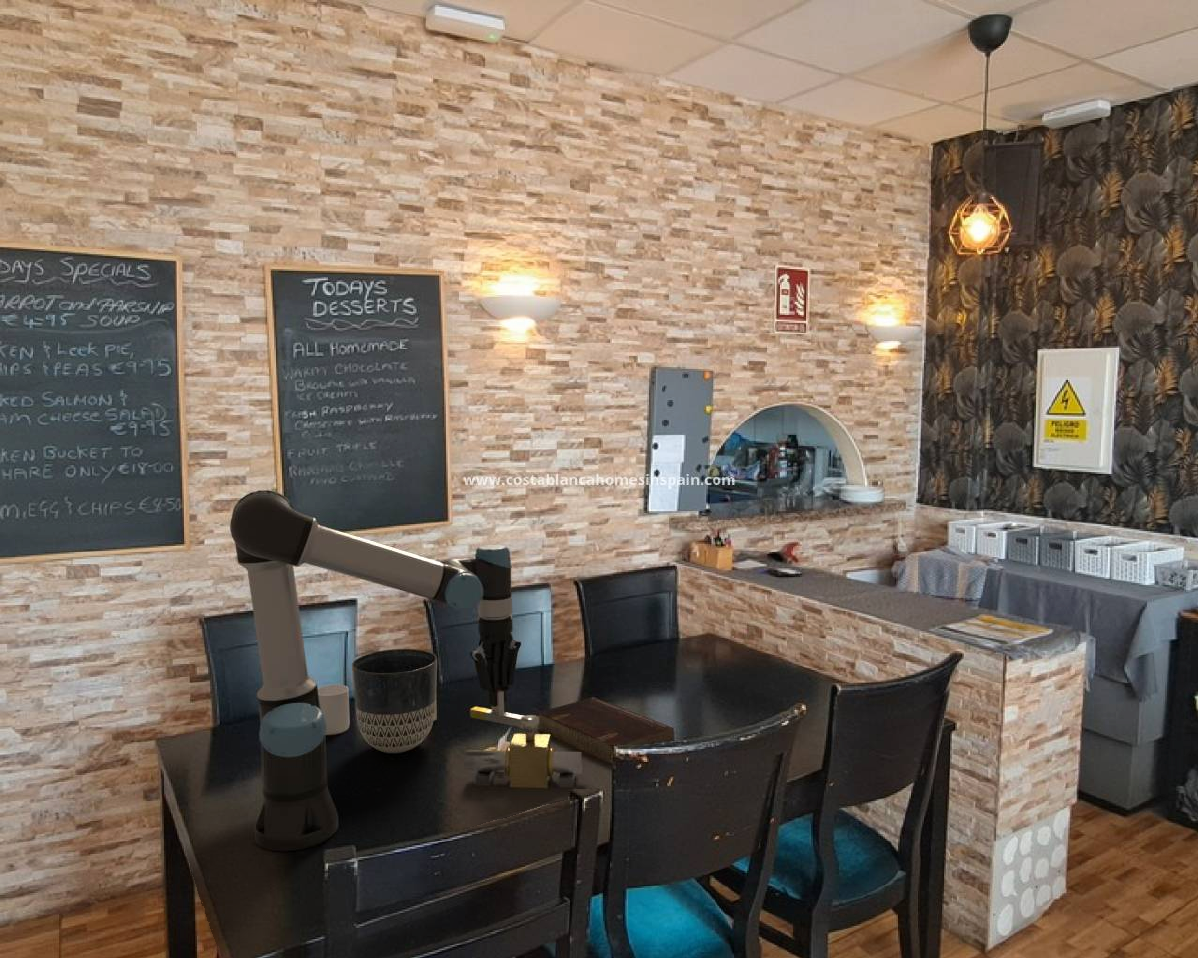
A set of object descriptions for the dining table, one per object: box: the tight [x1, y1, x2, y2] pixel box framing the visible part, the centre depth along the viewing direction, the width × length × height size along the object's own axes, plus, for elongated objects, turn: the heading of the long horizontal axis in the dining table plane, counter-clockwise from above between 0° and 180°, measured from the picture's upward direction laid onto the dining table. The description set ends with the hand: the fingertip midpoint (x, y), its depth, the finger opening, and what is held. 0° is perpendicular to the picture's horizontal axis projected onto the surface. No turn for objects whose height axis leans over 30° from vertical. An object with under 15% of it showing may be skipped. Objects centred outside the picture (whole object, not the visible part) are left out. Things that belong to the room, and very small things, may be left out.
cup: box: [317, 684, 350, 736], centre depth 218 cm, size 8×12×10 cm
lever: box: [469, 705, 539, 731], centre depth 189 cm, size 17×4×2 cm, turn 63°
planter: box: [351, 648, 438, 754], centre depth 204 cm, size 20×20×21 cm
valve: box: [464, 730, 583, 789], centre depth 187 cm, size 7×25×12 cm, turn 87°
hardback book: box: [537, 696, 675, 765], centre depth 211 cm, size 29×19×5 cm, turn 41°
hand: (498, 718), depth 192 cm, fingers closed
